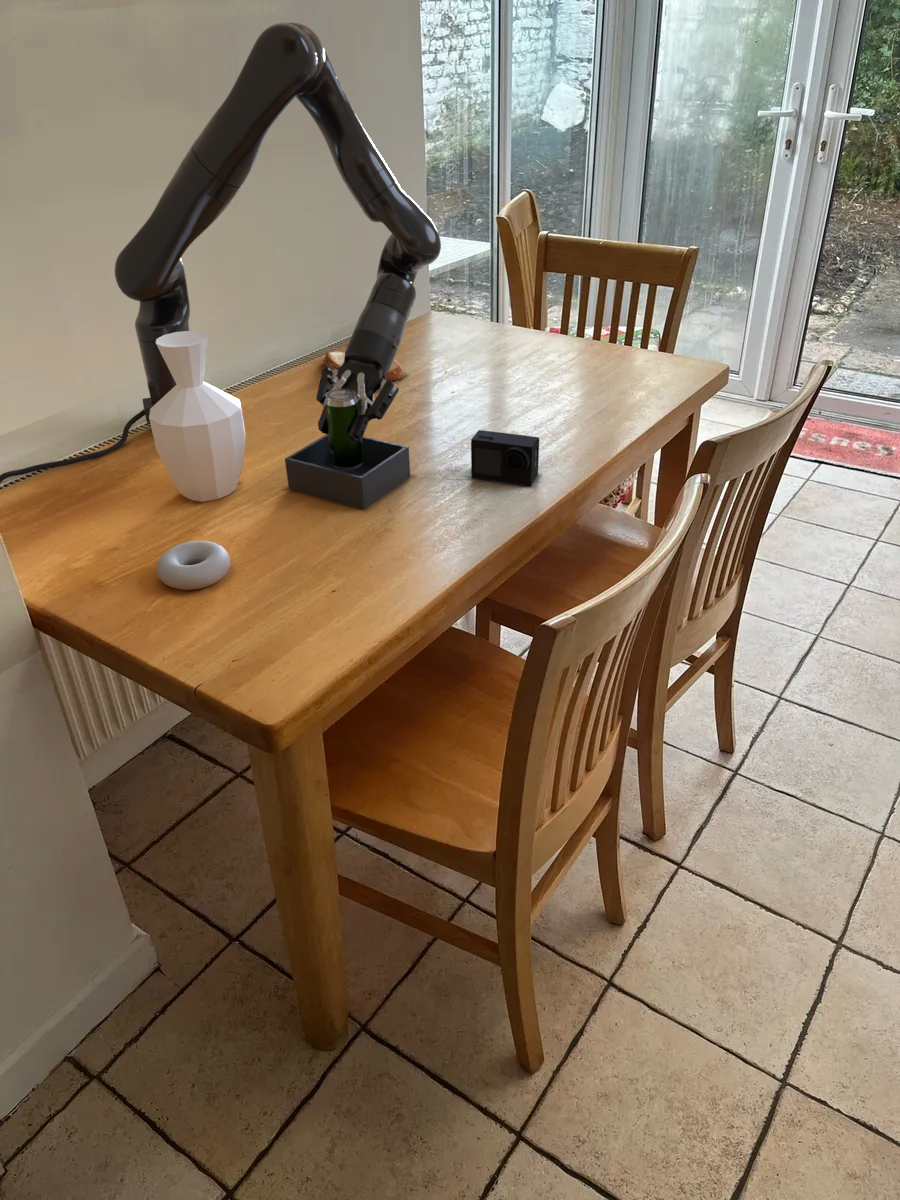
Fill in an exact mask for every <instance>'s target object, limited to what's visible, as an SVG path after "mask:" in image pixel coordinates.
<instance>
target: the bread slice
mask: <svg viewBox="0 0 900 1200" xmlns="http://www.w3.org/2000/svg"><path fill="white" fill-rule="evenodd" d="M347 347H348V344H346V345H345V346H342V347H340V348H338V349H337V350H335V351H331V352H330V351H327V352H326V353H325V356H324V359H323V364H324V365H325V367H328V368H329V369H330V370H338V369H339V367H340V366H341V365H342V364H343V363H344V359H345V351H346V349H347ZM404 377H405V374H404V371H403V368H402V366H401V364H400V363H399V362H398V361H397V360H396V358H394V360H393V362H392V365H391V367H390V370H389V372H388V374H387V375H385V379H386V380H391V381H392V382H393V381H396V380H400V379H402V378H404Z"/></svg>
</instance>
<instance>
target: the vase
mask: <svg viewBox="0 0 900 1200" xmlns="http://www.w3.org/2000/svg"><path fill="white" fill-rule="evenodd" d="M156 345H157V347H158V349H159V351H160V353H161V354H162V356H163V358H164V360H165V362H166V364H167V366H168V368H169V370H170V372H171V374H172V376H173V378H174V380H175V382H176V384H177V385H176V386H175V387H173V388H172V389H171V390H170V391H169V392H168V393H167V394H166V395H165V396H164V397H163V398H162V399H160V400H159V401H158V402H157V403H156V404H155V405H154V406H153V407H152V408H151V409H150V415H149V420H150V424H149V425H150V427H151V433H152V437H153V441H154V442H153V443H154V446H155V450H156V452H157V454H158V456H159V458H160V460H161V462H162V464H163V466H164V468H165V470H166V472H167V473H168V475H169V477H170V479H171V481H172V484H173V485H174V487H175V490H176V492H177V493H179V494H181V495H182V496H183V497H184V498H186V499H188V500H190V501H195V502H202V503H205V502H208V501H209V502H211V501H215V500H220V499H223V498H224V497H227V496H229V495H231V494H232V493H233V492H235V490H236V489H237V487H238V484H239V480H240V476H241V474H242V471H243V466H244V460H245V450H246V442H247V441H246V439H247V438H246V427H245V422H244V416H243V415H244V414H243V409H242V404H241V399H240V398H237V397H236V396H233V395H231V394H230V393H228V392H226V391H224V390H222V389H220V388H218V387H216V386H214V385H212V384H210V383H208V382H206V381H204V380H205V369H206V358H207V347H208V333H205V332H202V331H196V330H190V331H182V332H174V333H170V334H166V335H163V336H161V337H159V338H158V339H156Z"/></svg>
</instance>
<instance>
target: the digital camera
mask: <svg viewBox="0 0 900 1200" xmlns="http://www.w3.org/2000/svg"><path fill="white" fill-rule="evenodd" d="M539 456H540V437H539V436H533V435H532V436H531V435H524V434H517V433H516V434H515V433H507V432H499V431H490V430H483V429H482V430H481V429H479V430H477V432H475V434H474V435H473V436H472V438H471V439H470V462H471V463H470V464H471V465H470V467H471V478H472V479H476V480H483V481H490V482H498V483H504V484H511V485H520V486H528V487H532V486H533V484H534V483H535V481H536V479H537V477H539V461H540V460H539V459H540V458H539Z"/></svg>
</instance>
